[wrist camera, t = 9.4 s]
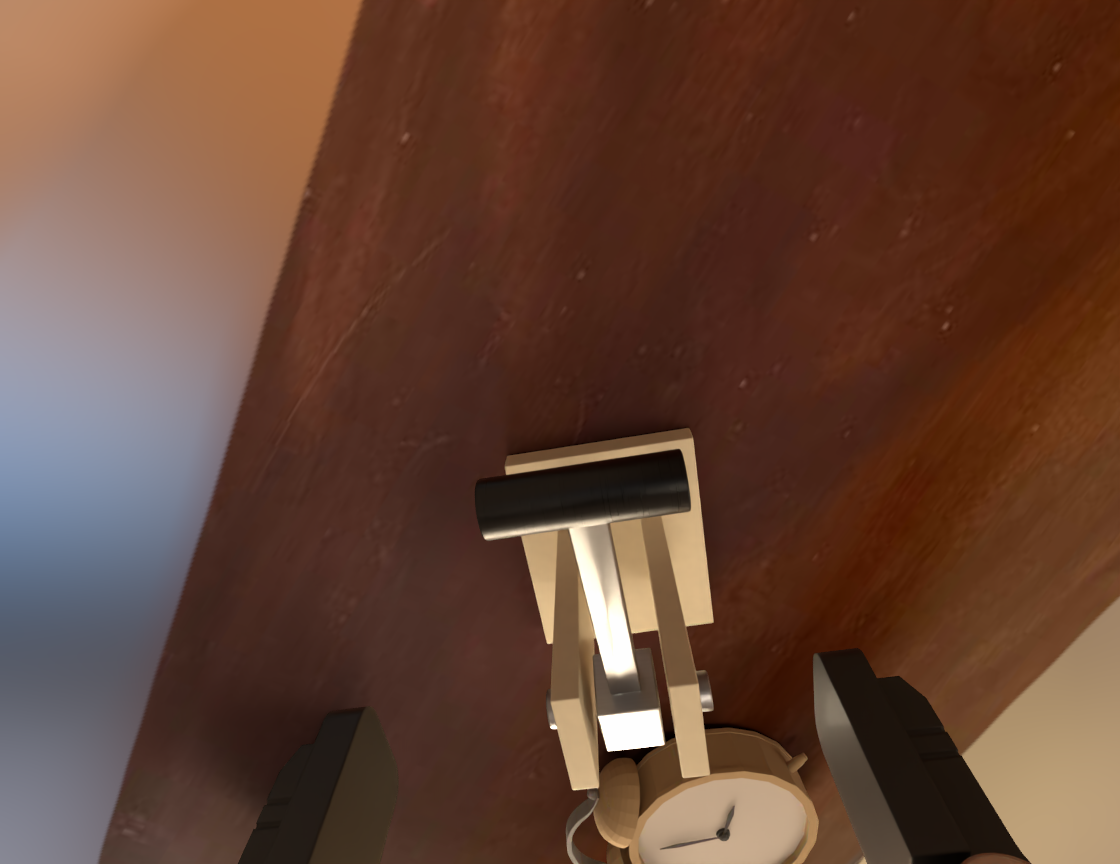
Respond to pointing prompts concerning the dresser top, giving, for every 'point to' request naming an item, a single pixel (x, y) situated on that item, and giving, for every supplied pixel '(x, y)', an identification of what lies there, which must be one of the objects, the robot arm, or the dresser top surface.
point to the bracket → (651, 599)
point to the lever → (598, 564)
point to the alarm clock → (703, 806)
